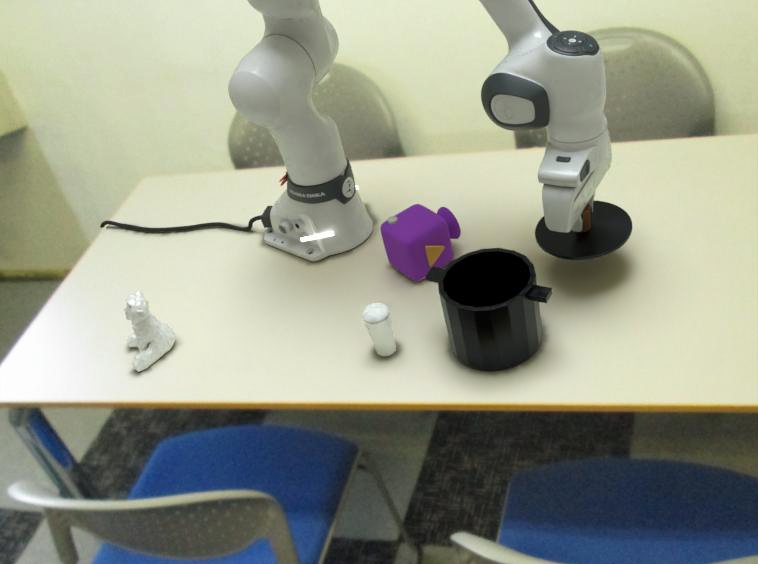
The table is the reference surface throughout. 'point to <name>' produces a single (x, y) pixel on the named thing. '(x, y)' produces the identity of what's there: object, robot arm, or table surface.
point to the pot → (491, 307)
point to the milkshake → (380, 328)
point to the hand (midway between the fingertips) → (582, 222)
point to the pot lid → (588, 234)
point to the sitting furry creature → (146, 332)
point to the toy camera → (419, 239)
